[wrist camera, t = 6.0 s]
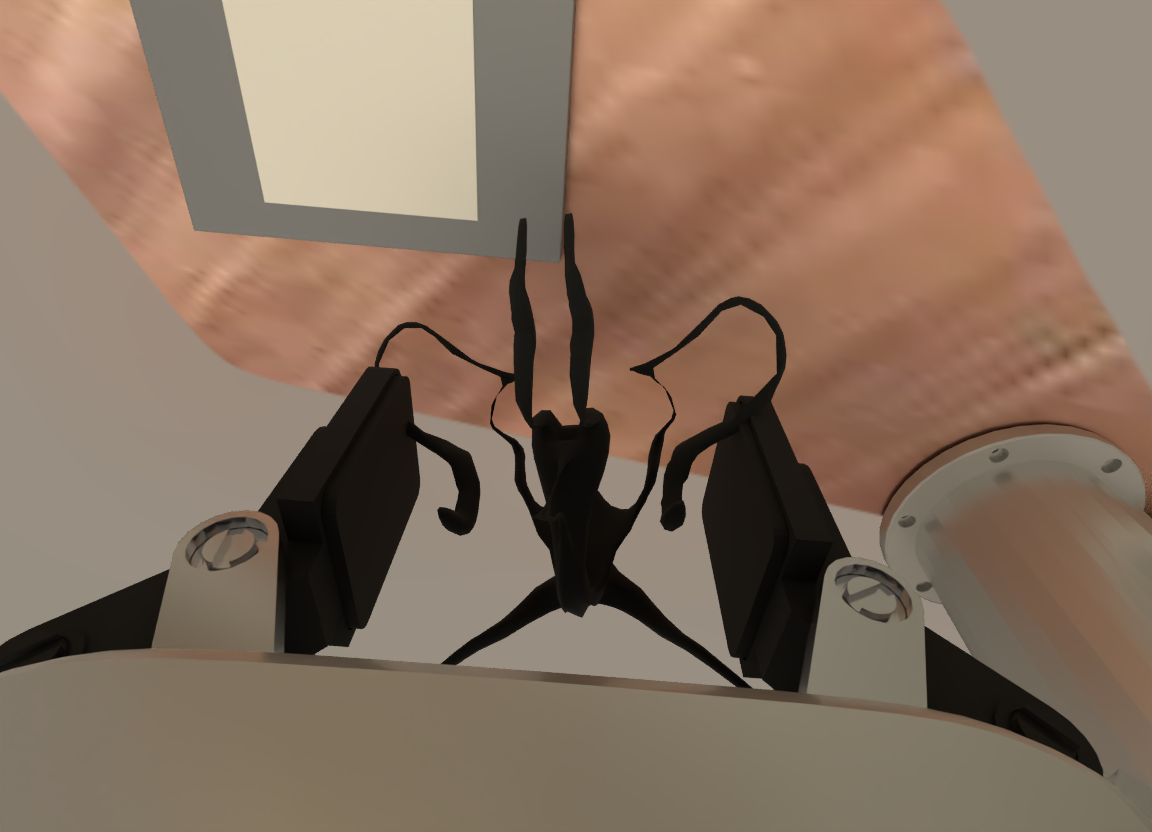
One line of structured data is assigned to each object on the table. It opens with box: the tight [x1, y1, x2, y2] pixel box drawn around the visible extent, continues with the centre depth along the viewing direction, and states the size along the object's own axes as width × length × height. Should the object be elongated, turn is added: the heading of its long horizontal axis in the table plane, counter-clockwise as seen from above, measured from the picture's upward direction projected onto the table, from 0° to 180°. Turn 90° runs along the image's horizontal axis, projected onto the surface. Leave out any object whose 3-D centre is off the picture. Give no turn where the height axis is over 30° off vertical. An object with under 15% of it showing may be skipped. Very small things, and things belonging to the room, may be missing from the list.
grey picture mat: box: [130, 0, 576, 263], centre depth 22 cm, size 16×13×1 cm
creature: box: [375, 213, 786, 689], centre depth 10 cm, size 8×5×8 cm
